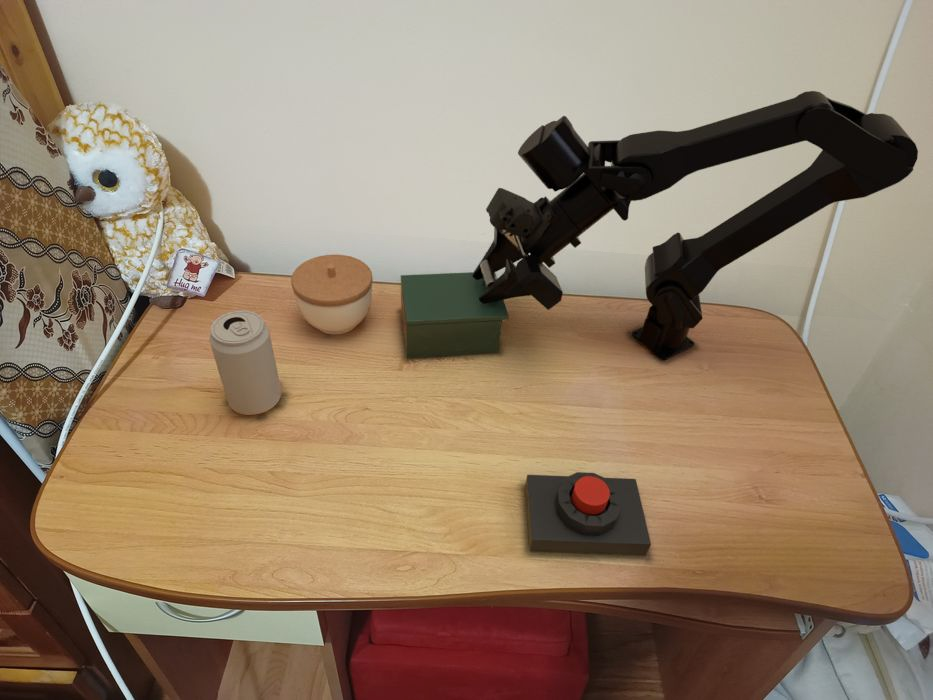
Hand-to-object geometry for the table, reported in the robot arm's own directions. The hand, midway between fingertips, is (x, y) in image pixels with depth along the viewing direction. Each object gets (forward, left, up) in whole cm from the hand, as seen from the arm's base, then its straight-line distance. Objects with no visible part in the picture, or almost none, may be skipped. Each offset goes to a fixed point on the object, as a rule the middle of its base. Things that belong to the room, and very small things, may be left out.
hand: (477, 289), depth 84 cm
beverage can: (+31, -3, -7) cm, 32 cm away
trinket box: (+16, -12, -7) cm, 21 cm away
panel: (+7, +32, -7) cm, 33 cm away
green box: (+3, -2, -7) cm, 8 cm away
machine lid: (+3, -1, -1) cm, 4 cm away
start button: (+7, +32, -4) cm, 33 cm away
